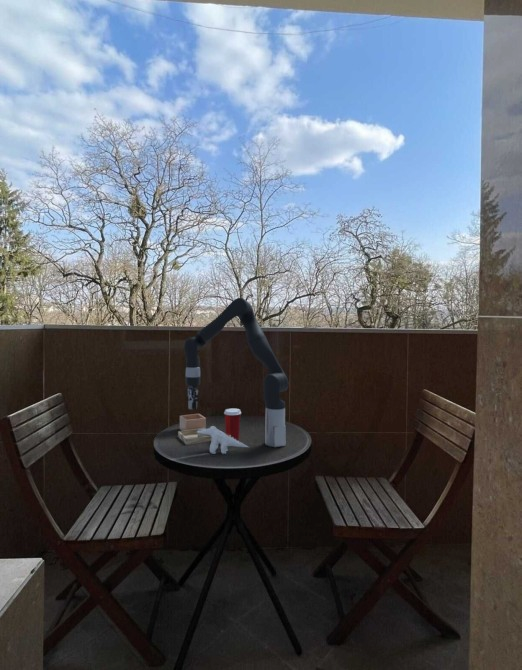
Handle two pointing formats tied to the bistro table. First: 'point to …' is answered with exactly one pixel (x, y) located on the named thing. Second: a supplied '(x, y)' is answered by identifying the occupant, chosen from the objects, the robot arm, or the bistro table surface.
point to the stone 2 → (200, 433)
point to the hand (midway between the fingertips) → (192, 408)
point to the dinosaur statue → (220, 440)
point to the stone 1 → (190, 404)
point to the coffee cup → (232, 422)
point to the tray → (192, 437)
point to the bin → (192, 422)
